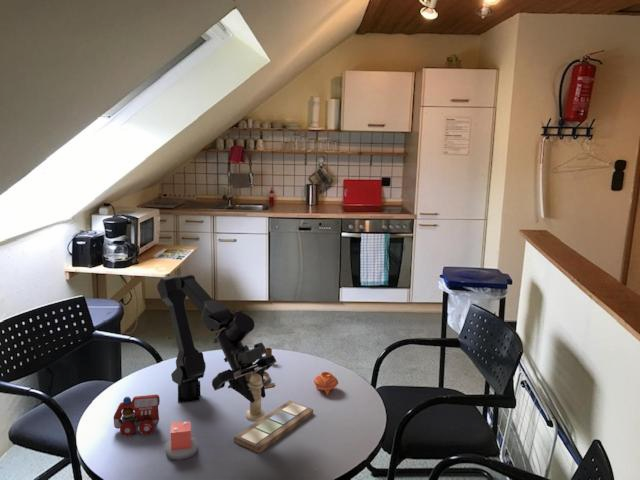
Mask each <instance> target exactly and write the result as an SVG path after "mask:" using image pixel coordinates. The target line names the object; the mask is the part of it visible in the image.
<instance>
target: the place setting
mask: <svg viewBox="0 0 640 480" xmlns="http://www.w3.org/2000/svg"><path fill="white" fill-rule="evenodd" d="M265 349H266V353H265V354H264V355H265V356H266V355H269V354H271V355H273V349H272V348H271V347H267V348H266V347H265ZM241 373H242V372H241ZM243 376H244V375H243ZM250 376H251V373H248V374H246V375H245V377H246V383H247V382H248V383H249V379H250ZM263 377H264V378H265V379H266V380H265V381H264V388H265V389H269V388H273V387H274V386H275V384H276V383H274V382H271V383H268V382H269V381H270V374H269V373H268V372H267V371H264V375H263ZM248 383H247V385H248ZM267 383H268V384H267ZM265 385H266V386H265Z"/></svg>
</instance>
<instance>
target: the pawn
mask: <svg viewBox="0 0 640 480" xmlns="http://www.w3.org/2000/svg"><path fill="white" fill-rule="evenodd" d="M247 384H248V387H249V389H250V391H251V393H252V395H253V398H254V400H255V401H254V402H253V403H251V402H250V401H249V409H248V410H246V415H245V416H246V417H245V419H246V420H247V421H249V422H251V423H256V422H258V421H261V420H263V419H264V418H265V416H266V415H265V414H266V413H265V412H266V411H265V410H264V409H262V397H261V388H262V387H263V382H262V377H261V376H260V375H259V374H252V375H251V376H250V379H249V382H248V383H247Z"/></svg>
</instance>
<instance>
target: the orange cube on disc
mask: <svg viewBox="0 0 640 480" xmlns="http://www.w3.org/2000/svg"><path fill="white" fill-rule="evenodd" d="M191 431H192V428H191V420H187V421H176V422H170V438H169V440H168V441H166V443H165V455H166V457H167V458H169V459H171V460H176V461H181V460H187V459H190V458H191V457H193V456H194V455H195V454H196V453H197V451H198V444H197V442H198V441H197V439H196V438H195V437H193V436H191V434H192V433H191Z"/></svg>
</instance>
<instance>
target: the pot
mask: <svg viewBox="0 0 640 480" xmlns="http://www.w3.org/2000/svg"><path fill="white" fill-rule="evenodd" d="M313 383H314V385H315V388H316V390H319V389H320V390H321V391H325V395H326V396H328V395H329V394H330V392H331V390H333V389H335V388H336V387H338V386H337V385H338V384H339V379H337V378H336V376H334V375H333V373H331V372H330V371H323V372H321V373H320V374H318V375H317V376H315V378H314V380H313Z"/></svg>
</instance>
